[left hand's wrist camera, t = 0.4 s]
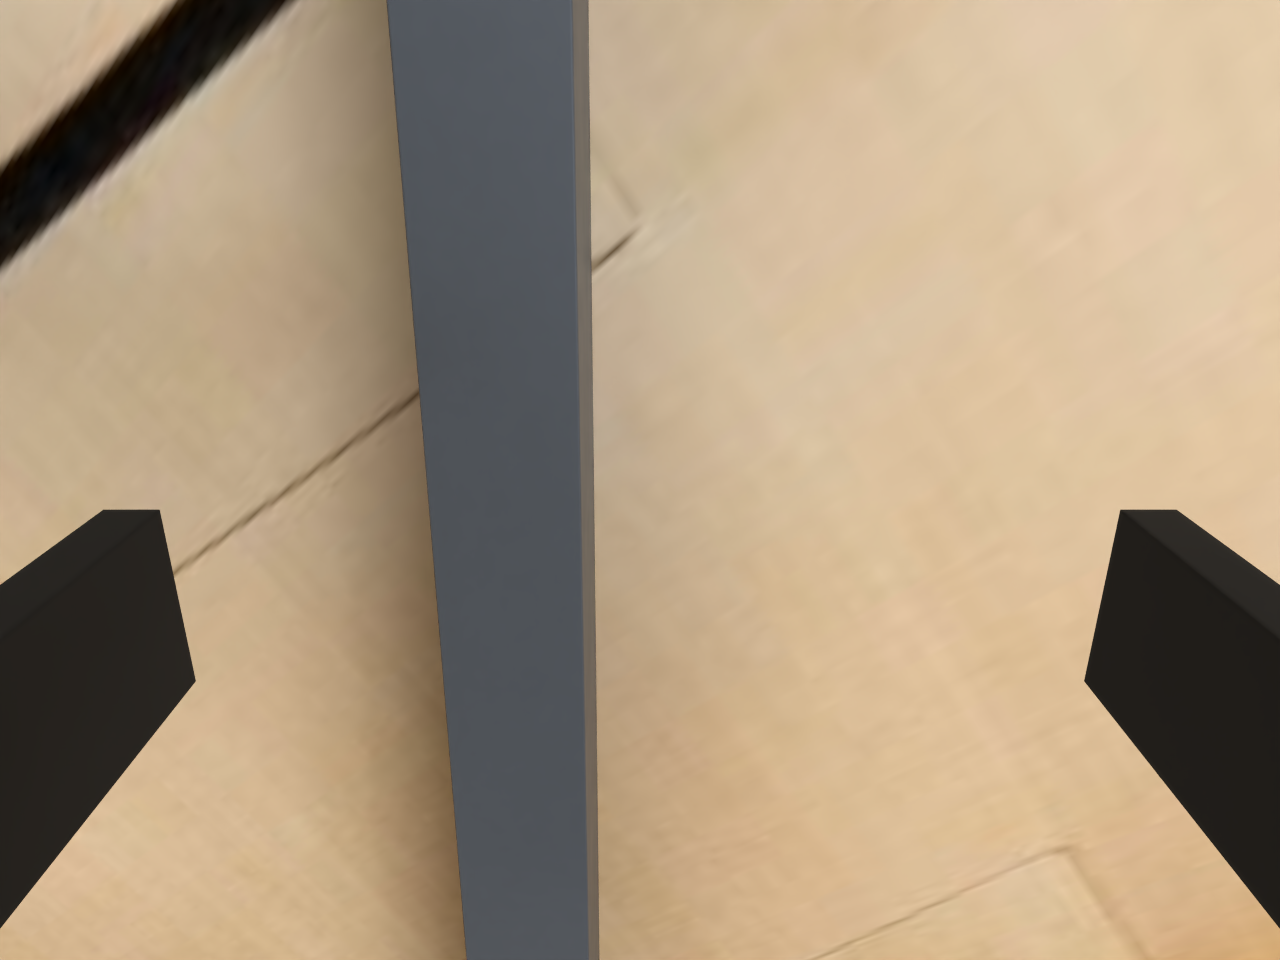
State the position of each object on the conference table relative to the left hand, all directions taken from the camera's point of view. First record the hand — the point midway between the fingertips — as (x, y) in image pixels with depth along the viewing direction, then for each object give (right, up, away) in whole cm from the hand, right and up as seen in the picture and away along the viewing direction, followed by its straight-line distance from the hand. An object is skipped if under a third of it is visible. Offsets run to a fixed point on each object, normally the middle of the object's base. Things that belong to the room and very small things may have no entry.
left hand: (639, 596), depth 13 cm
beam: (-4, -3, +27) cm, 28 cm away
